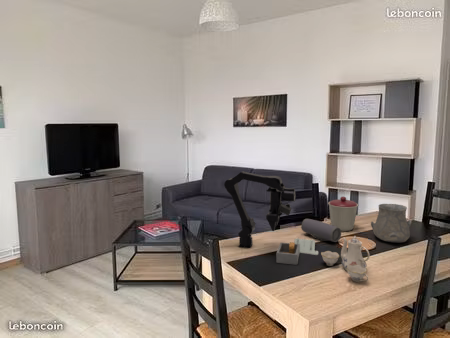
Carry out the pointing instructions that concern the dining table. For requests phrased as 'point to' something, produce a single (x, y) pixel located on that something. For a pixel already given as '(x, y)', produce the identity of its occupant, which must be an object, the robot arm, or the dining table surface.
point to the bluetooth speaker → (321, 230)
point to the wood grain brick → (291, 248)
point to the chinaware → (349, 259)
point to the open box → (287, 254)
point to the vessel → (392, 223)
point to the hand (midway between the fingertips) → (274, 228)
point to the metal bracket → (306, 246)
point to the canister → (343, 213)
